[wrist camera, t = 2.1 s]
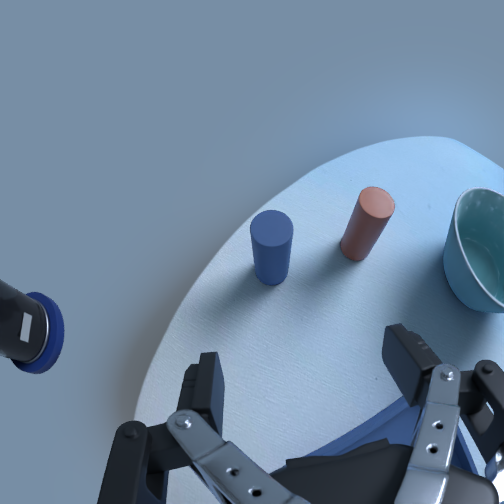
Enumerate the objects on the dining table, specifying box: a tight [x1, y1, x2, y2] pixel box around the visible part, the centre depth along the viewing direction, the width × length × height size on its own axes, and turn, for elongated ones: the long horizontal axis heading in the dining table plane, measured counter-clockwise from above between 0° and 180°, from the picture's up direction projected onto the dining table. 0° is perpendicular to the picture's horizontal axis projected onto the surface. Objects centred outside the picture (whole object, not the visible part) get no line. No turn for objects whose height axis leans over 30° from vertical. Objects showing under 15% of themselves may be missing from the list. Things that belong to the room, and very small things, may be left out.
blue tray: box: [283, 396, 478, 475], centre depth 20 cm, size 17×15×3 cm
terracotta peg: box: [340, 187, 395, 261], centre depth 30 cm, size 4×4×9 cm
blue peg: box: [250, 210, 293, 285], centre depth 29 cm, size 4×4×9 cm
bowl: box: [443, 187, 504, 313], centre depth 27 cm, size 16×16×8 cm
